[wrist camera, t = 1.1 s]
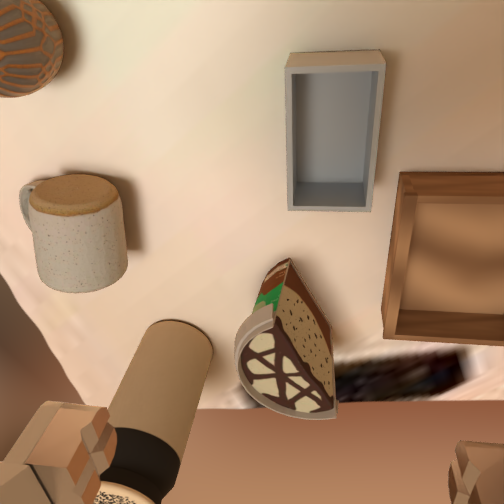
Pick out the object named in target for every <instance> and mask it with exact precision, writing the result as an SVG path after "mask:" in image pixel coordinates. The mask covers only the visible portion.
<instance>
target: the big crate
mask: <svg viewBox="0 0 504 504" xmlns="http://www.w3.org/2000/svg"><path fill="white" fill-rule="evenodd" d="M381 313H382V320H383V327H384V330H383V339H393V340H409V341H425V342H442V343H458V344H474V345H490V346H504V172H400V174H399V181H398V188H397V196H396V203H395V210H394V217H393V225H392V232H391V239H390V247H389V254H388V261H387V268H386V276H385V283H384V290H383V298H382V305H381Z"/></svg>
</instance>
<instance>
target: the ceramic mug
mask: <svg viewBox="0 0 504 504" xmlns="http://www.w3.org/2000/svg"><path fill="white" fill-rule="evenodd" d="M19 202H20V208H21V212H22V214H23V217H24V219H25V221H26V224H27V225H28V227H29V229H30V230H31V231H32V235H33V241H34V250H35V257H36V263H37V270H38V274H39V277H40V279H41V280H42V282H43V283H45V284H46V285H47V286H48V287H50V288H52V289H54V290H57V291H61V292H65V293H87V292H93V291H97V290H100V289H103V288H105V287H108V286H110V285H112V284H113V283H115V282H116V281H118V280H119V279H120V278H121V277H122V276H123V275H124V273H125V271H126V269H127V266H128V257H127V249H126V238H125V230H124V222H123V209H122V203H121V199H120V196H119V193H118V191H117V189H116V187H115V186H114V185H113V184H111V183H110V182H109V181H107V180H105V179H103V178H100V177H97V176H92V175H83V174H72V175H63V176H58V177H54V178H51V179H48V180H46V181H43V180H38V181H35V182H31V183H29V184H26V185H24V186H23V187H22V188H21V190H20V194H19Z"/></svg>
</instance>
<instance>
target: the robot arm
mask: <svg viewBox="0 0 504 504" xmlns="http://www.w3.org/2000/svg"><path fill="white" fill-rule="evenodd" d="M109 417H110V414H109V412H108V410H107V407H99V406H90V405H80V404H72V403H65V402H54V401H46V402H45V403H44V404H42V405H41V406H40V407H39V409H38V410H37V412H36V413H35V415H34V416H33V418H32V419H31V421H30V422H29V423H28V425H27V427H26V428H25V429H24V431H23V432H22V434H21V435H20V437H19V439H18V440H17V441H16V443H15V445H14V446H13V447H12V449H11V450H10V452H9V453H8V455H7V456H6V458H5V459H4V461H3V462H1V461H0V504H93V502H94V500H95V498H96V496H97V493H98V491H99V489H100V487H101V480H100V474H101V473H102V472H104V471H105V470H106V469H107V468H109V467H110V464H111V462H112V460H113V457H114V455H115V450H116V445H117V434H116V431H115V428H114V427H113V426H112V425H111V424H110V423H108V422H107V421H108V419H109ZM455 453H456V456H457V459H456V460H454V461H452V462H451V464H450V468H449V473H448V487H449V495H450V499H451V504H504V444H498V443H497V444H496V443H484V442H472V441H459V442H458V443H457V445H456V448H455Z"/></svg>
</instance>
